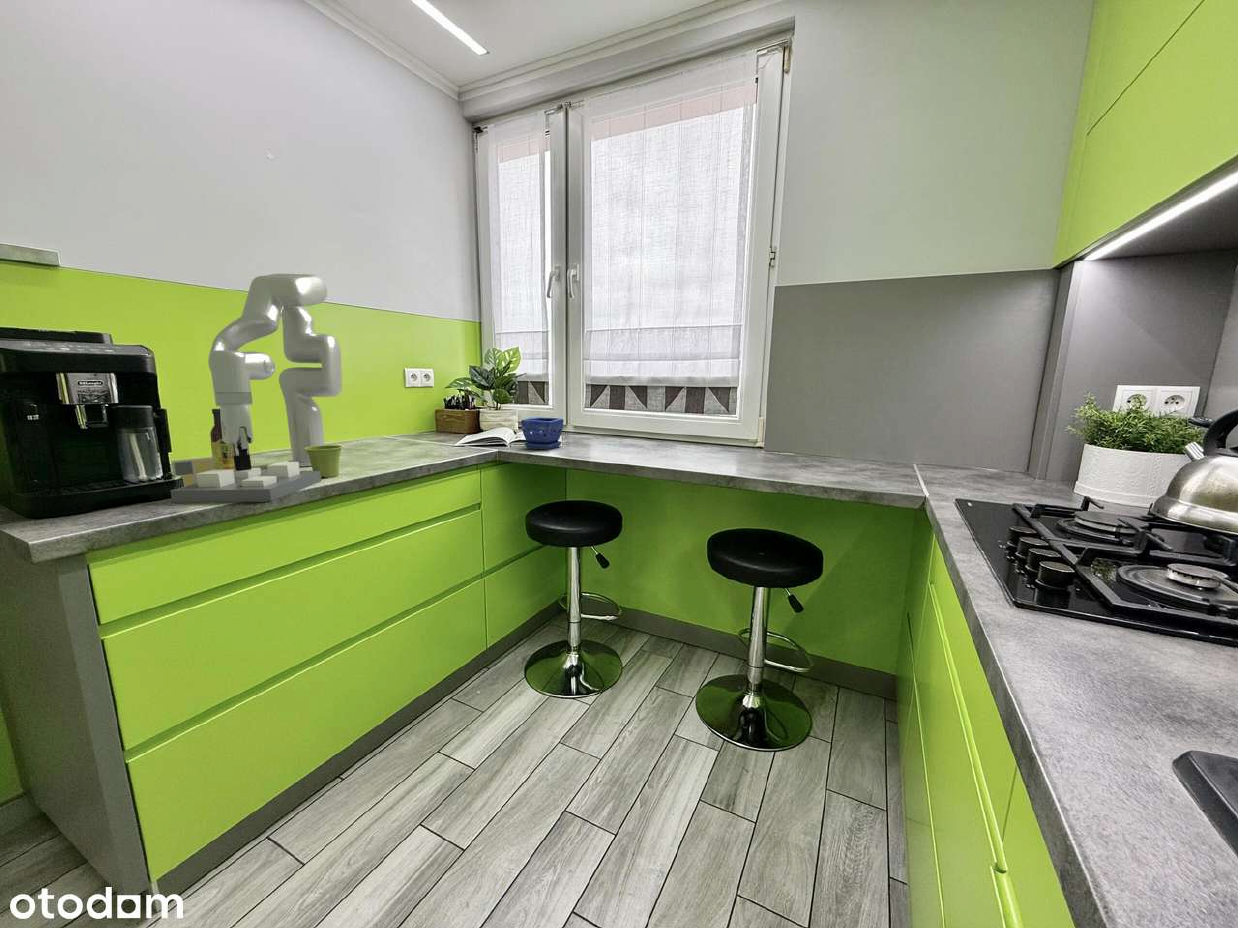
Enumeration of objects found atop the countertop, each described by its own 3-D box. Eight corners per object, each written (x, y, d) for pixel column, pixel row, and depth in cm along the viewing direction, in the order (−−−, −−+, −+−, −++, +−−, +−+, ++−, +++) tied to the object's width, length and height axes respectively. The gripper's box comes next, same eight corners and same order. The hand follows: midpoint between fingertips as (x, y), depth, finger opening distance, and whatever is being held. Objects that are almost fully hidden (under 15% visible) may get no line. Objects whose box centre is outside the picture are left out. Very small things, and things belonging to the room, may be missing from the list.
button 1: (214, 485, 120) (211, 469, 120) (235, 485, 121) (233, 469, 120) (198, 490, 115) (196, 473, 115) (220, 489, 116) (218, 473, 115)
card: (176, 491, 123) (171, 460, 122) (216, 486, 128) (212, 457, 127) (176, 492, 123) (171, 461, 121) (217, 487, 128) (212, 457, 126)
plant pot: (332, 471, 148) (329, 444, 147) (352, 474, 144) (349, 446, 142) (301, 477, 140) (297, 448, 138) (321, 480, 136) (317, 450, 134)
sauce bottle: (227, 479, 137) (216, 409, 134) (209, 478, 138) (198, 409, 135) (248, 474, 144) (239, 407, 140) (231, 473, 145) (221, 407, 141)
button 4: (281, 476, 131) (279, 462, 130) (300, 476, 131) (298, 461, 130) (269, 480, 126) (267, 465, 125) (289, 480, 126) (287, 465, 126)
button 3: (257, 491, 121) (255, 476, 121) (278, 491, 122) (276, 476, 121) (243, 496, 116) (241, 480, 116) (265, 496, 117) (263, 480, 116)
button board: (238, 482, 134) (237, 471, 133) (321, 481, 135) (320, 470, 135) (172, 503, 112) (170, 490, 112) (271, 501, 114) (269, 489, 113)
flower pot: (565, 446, 201) (564, 418, 199) (549, 451, 189) (549, 420, 186) (537, 444, 206) (536, 416, 203) (520, 449, 193) (519, 419, 191)
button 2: (243, 482, 130) (240, 468, 130) (262, 482, 131) (260, 467, 130) (229, 486, 126) (227, 471, 125) (249, 486, 126) (247, 471, 125)
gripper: (209, 399, 126) (219, 468, 129) (221, 401, 116) (232, 475, 120) (244, 398, 132) (253, 464, 135) (259, 400, 122) (268, 471, 125)
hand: (243, 469), depth 127 cm, fingers closed
